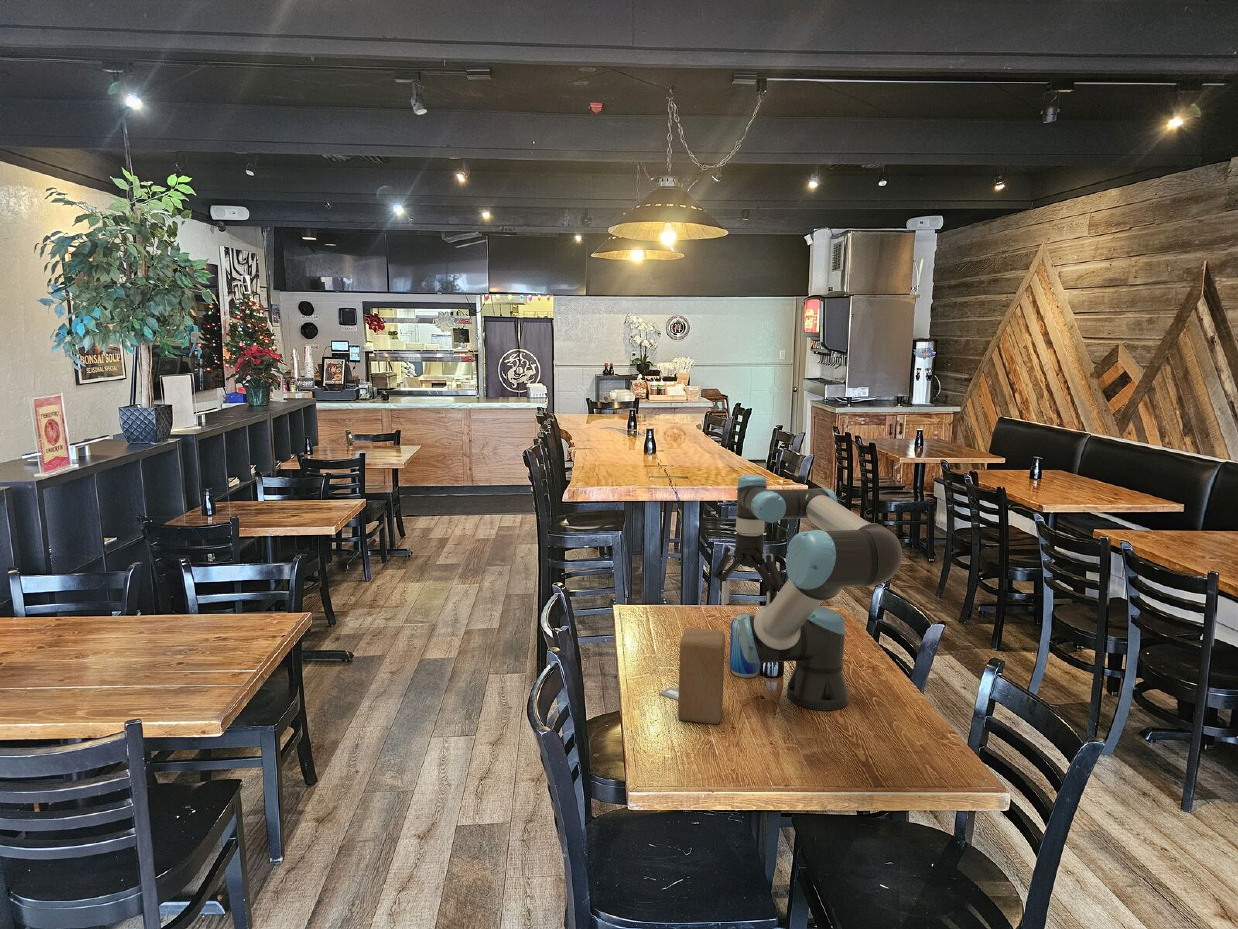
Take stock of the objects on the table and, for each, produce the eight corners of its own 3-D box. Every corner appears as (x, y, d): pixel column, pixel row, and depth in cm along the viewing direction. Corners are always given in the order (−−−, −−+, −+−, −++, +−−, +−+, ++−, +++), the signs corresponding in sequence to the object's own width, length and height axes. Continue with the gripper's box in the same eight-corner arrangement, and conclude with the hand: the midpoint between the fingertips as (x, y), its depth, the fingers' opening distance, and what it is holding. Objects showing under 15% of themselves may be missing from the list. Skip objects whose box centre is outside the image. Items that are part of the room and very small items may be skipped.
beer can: (742, 664, 218) (744, 609, 216) (766, 673, 212) (768, 617, 210) (722, 672, 213) (724, 616, 210) (747, 681, 206) (749, 624, 204)
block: (719, 726, 181) (722, 644, 179) (677, 721, 183) (679, 640, 181) (722, 707, 191) (725, 629, 188) (682, 703, 193) (684, 626, 190)
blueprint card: (696, 696, 197) (696, 695, 197) (685, 703, 193) (685, 701, 193) (670, 688, 202) (670, 686, 202) (659, 694, 198) (659, 692, 198)
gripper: (799, 537, 202) (795, 615, 205) (717, 523, 218) (714, 596, 221) (786, 542, 196) (782, 623, 200) (702, 528, 212) (700, 602, 215)
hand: (746, 609), depth 210 cm, fingers open, 13 cm apart
